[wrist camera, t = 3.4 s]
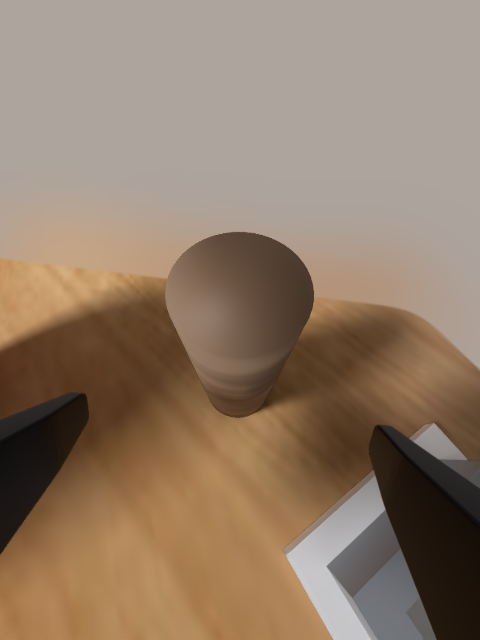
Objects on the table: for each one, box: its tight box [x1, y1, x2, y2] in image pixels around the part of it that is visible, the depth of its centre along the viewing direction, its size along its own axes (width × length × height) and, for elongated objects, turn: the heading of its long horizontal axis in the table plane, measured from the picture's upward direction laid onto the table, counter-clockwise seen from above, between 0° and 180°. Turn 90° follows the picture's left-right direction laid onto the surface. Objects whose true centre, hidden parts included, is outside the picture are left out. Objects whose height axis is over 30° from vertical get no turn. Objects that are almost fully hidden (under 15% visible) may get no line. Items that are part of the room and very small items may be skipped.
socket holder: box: [283, 423, 480, 640], centre depth 12 cm, size 12×12×4 cm
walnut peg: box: [165, 232, 314, 418], centre depth 14 cm, size 4×4×12 cm
